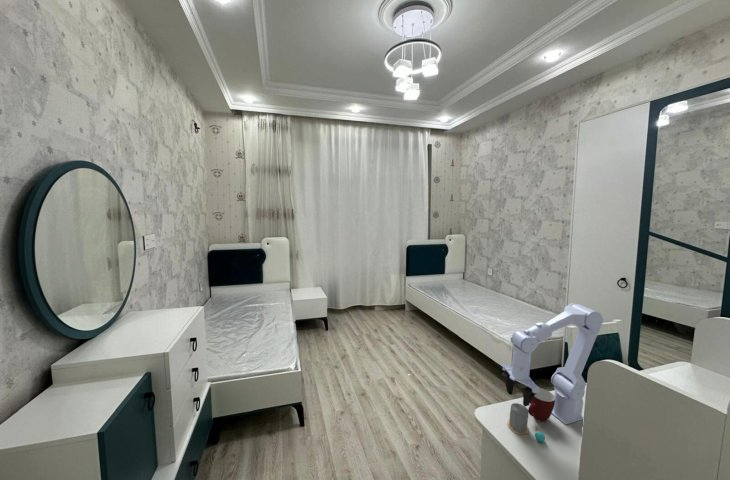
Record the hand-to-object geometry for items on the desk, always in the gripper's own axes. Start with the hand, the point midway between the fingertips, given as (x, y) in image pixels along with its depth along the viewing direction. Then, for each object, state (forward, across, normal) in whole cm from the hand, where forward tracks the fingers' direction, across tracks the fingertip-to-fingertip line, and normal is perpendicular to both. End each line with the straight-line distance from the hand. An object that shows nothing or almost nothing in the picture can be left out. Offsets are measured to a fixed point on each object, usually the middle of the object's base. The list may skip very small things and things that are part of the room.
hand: (517, 398), depth 108 cm
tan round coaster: (+9, +3, -2) cm, 10 cm away
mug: (+10, +2, +9) cm, 13 cm away
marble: (+9, +10, +1) cm, 14 cm away
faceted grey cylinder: (+9, +3, -2) cm, 9 cm away
